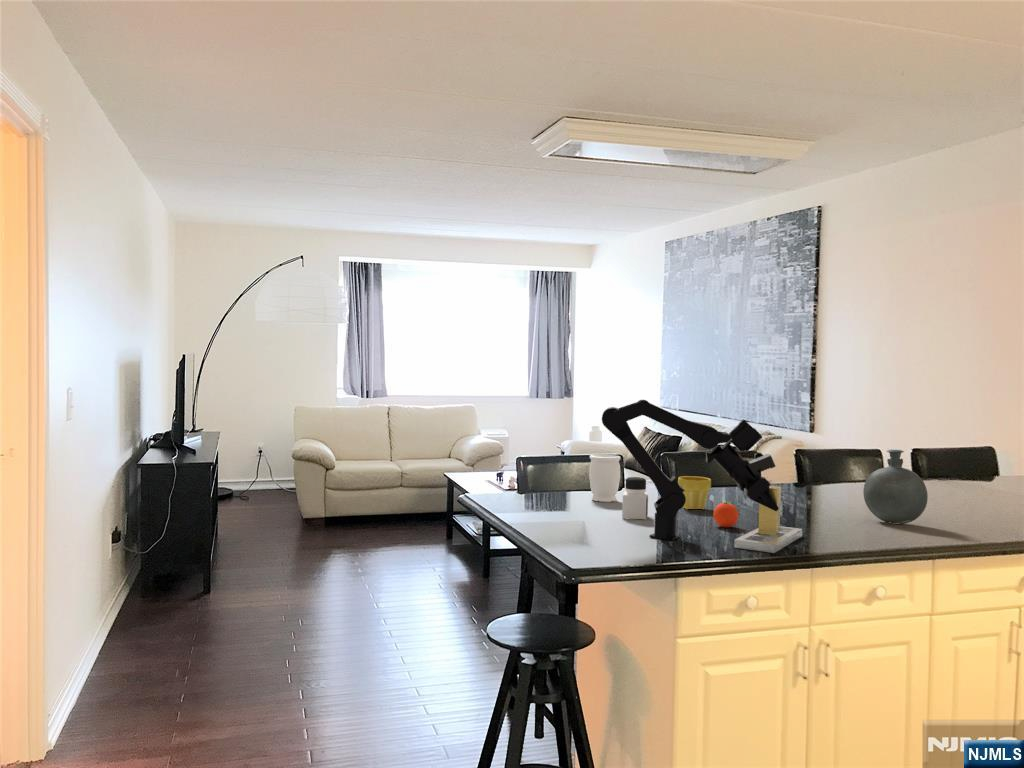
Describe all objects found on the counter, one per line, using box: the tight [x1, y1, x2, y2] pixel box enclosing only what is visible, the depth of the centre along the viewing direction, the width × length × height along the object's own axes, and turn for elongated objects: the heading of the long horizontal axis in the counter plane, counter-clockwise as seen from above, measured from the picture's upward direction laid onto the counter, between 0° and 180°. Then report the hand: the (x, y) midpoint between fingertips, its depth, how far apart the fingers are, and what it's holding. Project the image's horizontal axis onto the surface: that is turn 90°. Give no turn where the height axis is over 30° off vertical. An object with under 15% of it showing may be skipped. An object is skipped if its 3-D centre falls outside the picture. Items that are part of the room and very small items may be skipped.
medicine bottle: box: [621, 476, 649, 521], centre depth 254 cm, size 7×7×12 cm
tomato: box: [712, 501, 739, 528], centre depth 242 cm, size 8×7×7 cm
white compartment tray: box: [733, 525, 803, 554], centre depth 222 cm, size 26×10×2 cm, turn 147°
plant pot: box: [677, 475, 712, 510], centre depth 272 cm, size 10×10×10 cm
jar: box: [588, 453, 621, 503], centre depth 285 cm, size 11×10×15 cm
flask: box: [863, 449, 929, 525], centre depth 252 cm, size 12×17×22 cm
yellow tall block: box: [757, 485, 782, 535], centre depth 222 cm, size 4×4×12 cm
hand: (775, 508), depth 222 cm, fingers closed on yellow tall block, 6 cm apart
